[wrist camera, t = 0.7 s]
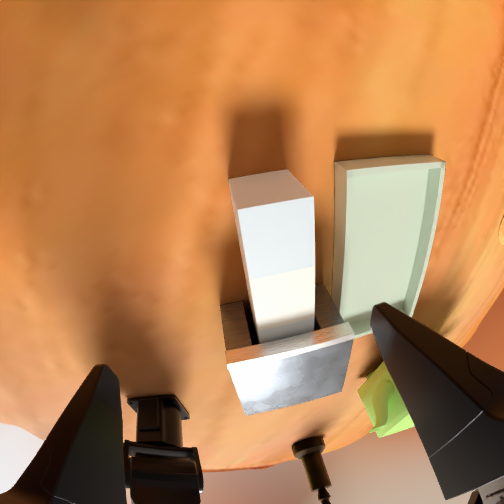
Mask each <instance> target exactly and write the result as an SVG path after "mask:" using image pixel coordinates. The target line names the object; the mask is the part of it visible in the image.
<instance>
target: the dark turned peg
mask: <svg viewBox="0 0 504 504" xmlns="http://www.w3.org/2000/svg"><path fill="white" fill-rule="evenodd" d="M324 449H325V444H324V440H323V438H322V437H312V438H308V439H305V440H302V441H300V442H297V443H296V444H294V445H293V446H292V450H293V454H294V456H295V457H296V458H298V459H302V462H303V465H304V468H305V471H306V474H307V478H308V481H309V484H310V488H311V491H312V492H314V491H318V499H319V501H321V503H322V504H331V503H330V502H329V498H330V495H329V493H328V492H327V491H326V489H325V488H328V487H330V486H332V485H331V482H330V479H329V476H328V474H327V470H326V467H325V465H324V462H323V459H322V456H321V453H322V452H323V450H324Z"/></svg>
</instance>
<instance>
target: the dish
mask: <svg viewBox="0 0 504 504" xmlns="http://www.w3.org/2000/svg"><path fill="white" fill-rule="evenodd" d="M445 163H446V162H445V161H443V160H441V159H439V158H437V157H435V156H433V155H430V154H426V155H407V156H391V157H378V158H367V159H356V160H346V161H337V162H334V189H335V215H334V257H333V279H332V295H331V298H332V300H333V302H334V304H335V306H336V307H337V309H338V311H339V313H340V315H341V316H342V318H343V320H344V322H345V323H346V322H349V324H350V326H351V328H352V330H353V332H354V333H355V334H354V339H355V338H358V337H361V336H364V335H367V334H370V333H373V332H372V329H371V326H370V319H371V314H372V308H373V306H374V305H375V304H379V303H382V302H386V303H388V304H390V305H391V306H393V307H395V308H396V309H398V310H400V311H401V312H403V313H405V314H406V315H408V316H410V317H411V318H412V315H413V312H414V309H415V306H416V303H417V300H418V297H419V293H420V290H421V287H422V283H423V280H424V276H425V272H426V269H427V265H428V261H429V257H430V253H431V248H432V244H433V239H434V235H435V230H436V225H437V219H438V214H439V208H440V202H441V196H442V189H443V181H444V173H445Z"/></svg>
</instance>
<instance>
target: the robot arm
mask: <svg viewBox="0 0 504 504" xmlns="http://www.w3.org/2000/svg"><path fill="white" fill-rule="evenodd" d="M370 326H371V329H372V332H373V334H374V337H375V339H376V342H377V345H378V347H379V350H380V352H381V355H382V358H383V360H384V363H385V365H386V367H387V370H388V372H389V374H390V376H391V378H392V380H393V382H394V384H395V386H396V388H397V390H398V392H399V394H400V396H401V398H402V400H403V402H404V404H405V406H406V408H407V410H408V412H409V415H410V417H411V419H412V421H413V423H414V425H415V428H416V430H417V432H418V434H419V437H420V439H421V441H422V443H423V446H424V448H425V450H426V453H427V455H428V457H429V460H430V462H431V465H432V467H433V470H434V472H435V475H436V477H437V479H438V482H439V485H440V487H441V490H442V492H443V495H444V498H445V500H448V499H451V498H454V497H456V496H459V495H461V494H464V493H467V492H469V491H472V490H474V489H476V488H478V489H476V490H475V491H474V492H472V494H471V497H470V499H469V502H468V504H504V372H503V371H501V370H499V369H497V368H495V367H493V366H491V365H489V364H487V363H486V362H484V361H482V360H480V359H479V358H477V357H475V356H474V355H472V354H470V353H469V352H466V351H465V350H464V349H462V348H461V347H459V346H458V345H456V344H454V343H453V342H451V341H449V340H448V339H446V338H445V337H443V336H441V335H440V334H438V333H436V332H435V331H433V330H431V329H430V328H428V327H426V326H425V325H423V324H421V323H420V322H418V321H416V320H415V319H413V318H411V317H410V316H408V315H406V314H405V313H403V312H401V311H400V310H398V309H396V308H395V307H393V306H391V305H390V304H388V303H386V302H382V303H379V304H375V305H374V306H373V308H372V314H371V319H370ZM127 403H128V404H129V405H130V406H131V407H132V409H133V410H134V411H135V412H136V413H137V427H136V442H132V441H129V440H125V443H123V421H122V409H121V398H120V385H119V380H118V377H117V376H116V375H115V373H114V372H113V371H112V370H111V369H110V367H109V366H108V365H106V364H98V365H95V366H94V367H93V369H92V370H91V372H90V373H89V374H88V376H87V377H86V379H85V380H84V382H83V383H82V385H81V386H80V387H79V389H78V390H77V392H76V393H75V395H74V396H73V398H72V399H71V401H70V402H69V404H68V405H67V407H66V408H65V410H64V411H63V413H62V414H61V416H60V418H59V419H58V421H57V422H56V424H55V425H54V427H53V428H52V430H51V432H50V433H49V435H48V436H47V438H46V440H45V441H44V443H43V445H42V446H41V448H40V449H39V451H38V452H37V454H36V456H35V457H34V458H33V460H32V461H31V463H30V464H29V466H28V467H27V468H26V470H25V471H24V473H23V474H22V475H21V477H20V478H19V479H18V481H17V482H16V484H15V485H14V486H13V487H12V488H11V489H10V490H8V491H7V492H5V493H2V494H0V504H127V501H126V489H125V488H130V495H131V503H132V504H200V502H201V500H200V494H202V492H203V474H202V469H201V464H200V460H199V455H198V450H197V447H192V448H188V447H183V439H182V421H181V420H187V419H189V418H190V417H189V414H188V413H187V411H186V410H185V409H184V407H183V406H182V405H181V403H180V402H179V400H178V399H177V398H176V396H174V395H167V396H157V397H145V398H131V399H127ZM130 456H132V457H131V458H130ZM133 456H135V457H133Z"/></svg>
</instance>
